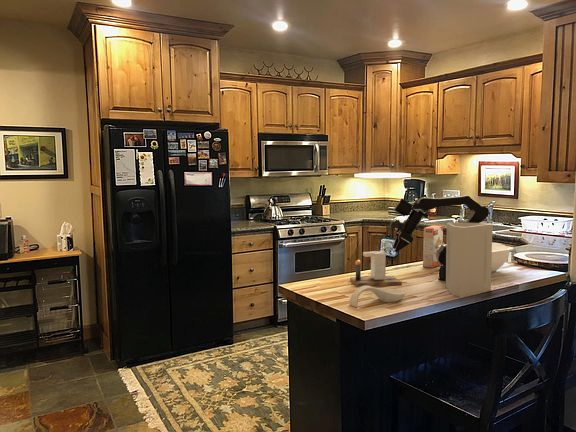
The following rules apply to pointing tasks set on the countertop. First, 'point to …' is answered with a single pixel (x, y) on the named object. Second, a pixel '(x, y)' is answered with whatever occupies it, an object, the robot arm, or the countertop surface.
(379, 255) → the white block with lip
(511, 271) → the countertop surface
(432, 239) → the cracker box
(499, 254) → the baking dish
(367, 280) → the walnut rail
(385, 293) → the spoon rest
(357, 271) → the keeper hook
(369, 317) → the countertop surface
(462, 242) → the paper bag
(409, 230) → the robot arm
